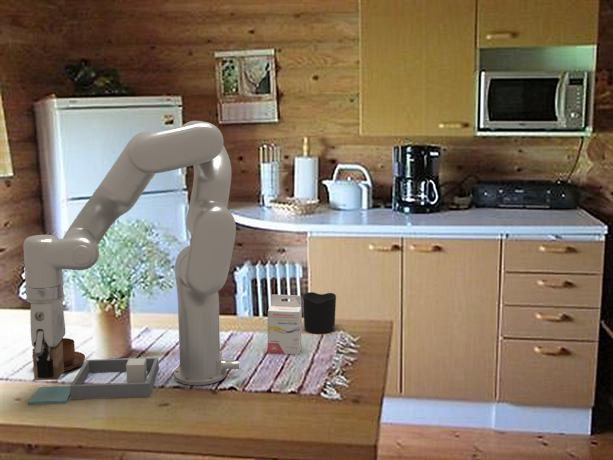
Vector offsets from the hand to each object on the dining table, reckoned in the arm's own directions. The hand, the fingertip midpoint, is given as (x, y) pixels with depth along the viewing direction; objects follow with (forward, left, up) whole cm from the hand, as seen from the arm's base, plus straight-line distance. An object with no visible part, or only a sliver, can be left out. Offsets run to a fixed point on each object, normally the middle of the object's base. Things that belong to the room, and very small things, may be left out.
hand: (49, 371), depth 152 cm
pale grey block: (-18, -7, -6) cm, 20 cm away
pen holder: (-64, -41, -6) cm, 76 cm away
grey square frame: (-13, -6, -6) cm, 16 cm away
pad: (0, 0, -6) cm, 6 cm away
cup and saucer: (+3, -18, -6) cm, 20 cm away
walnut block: (0, 0, -1) cm, 1 cm away
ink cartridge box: (-53, -24, -6) cm, 59 cm away
